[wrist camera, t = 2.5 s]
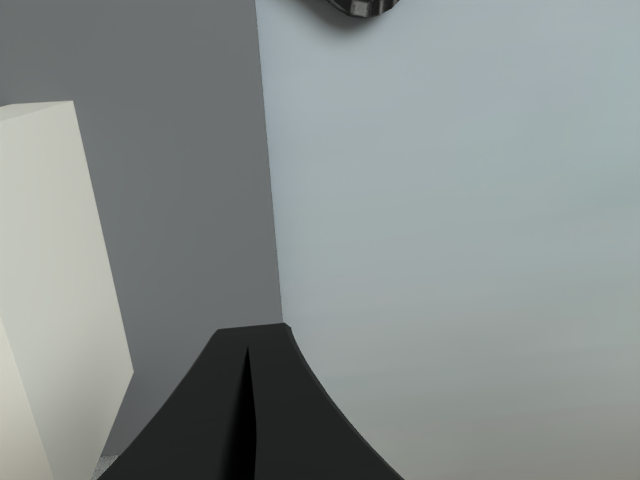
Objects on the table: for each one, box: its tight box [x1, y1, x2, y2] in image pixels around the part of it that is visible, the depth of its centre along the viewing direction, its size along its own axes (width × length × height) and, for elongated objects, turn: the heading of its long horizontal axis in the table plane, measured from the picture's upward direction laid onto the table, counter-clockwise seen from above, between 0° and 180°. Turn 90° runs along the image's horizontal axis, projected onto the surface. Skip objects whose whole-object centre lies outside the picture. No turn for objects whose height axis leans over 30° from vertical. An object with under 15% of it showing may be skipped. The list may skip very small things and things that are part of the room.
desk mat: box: [0, 0, 283, 457], centre depth 15 cm, size 16×14×1 cm
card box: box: [0, 101, 134, 480], centre depth 12 cm, size 9×2×6 cm, turn 3°
